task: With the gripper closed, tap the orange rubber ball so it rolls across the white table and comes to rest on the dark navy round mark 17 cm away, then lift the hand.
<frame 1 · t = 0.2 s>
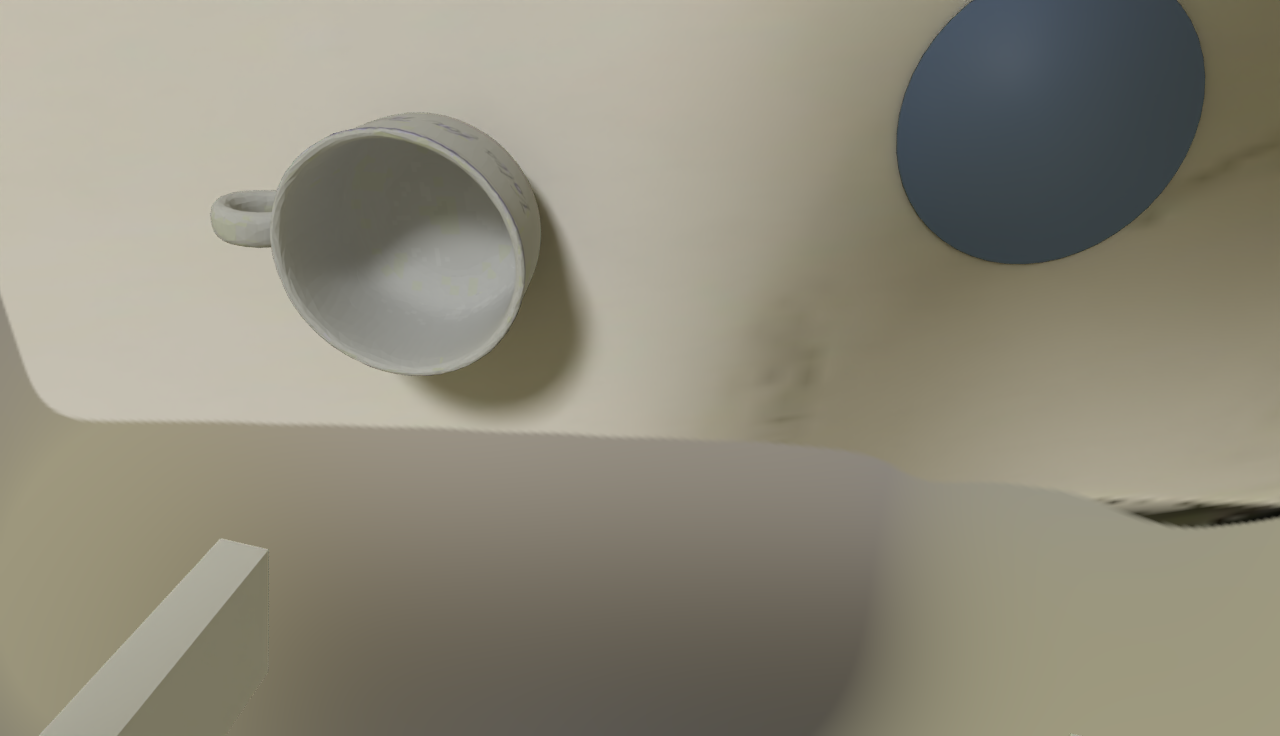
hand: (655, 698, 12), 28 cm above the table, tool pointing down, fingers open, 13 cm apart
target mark: (1044, 124, 34), on the table
teacup: (423, 204, 38), on the table
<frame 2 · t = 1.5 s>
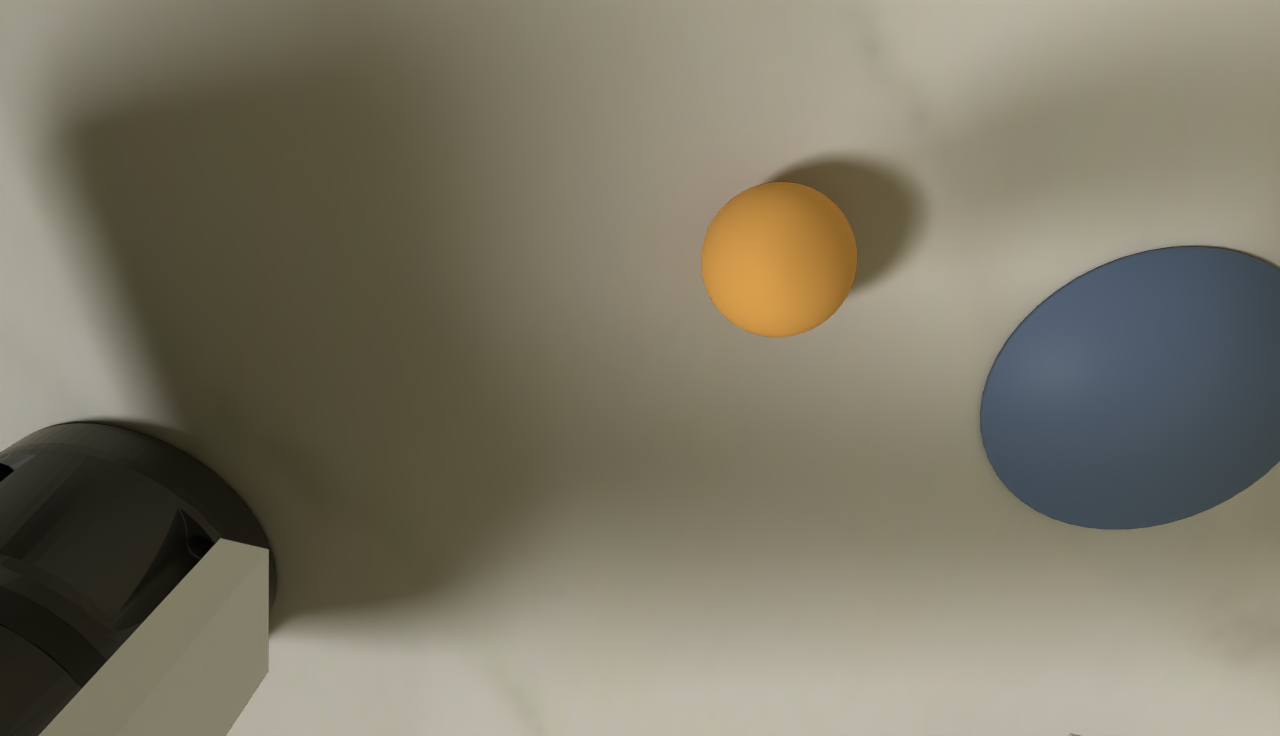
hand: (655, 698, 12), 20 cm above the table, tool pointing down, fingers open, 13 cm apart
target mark: (1145, 399, 31), on the table
ball: (777, 260, 27), on the table
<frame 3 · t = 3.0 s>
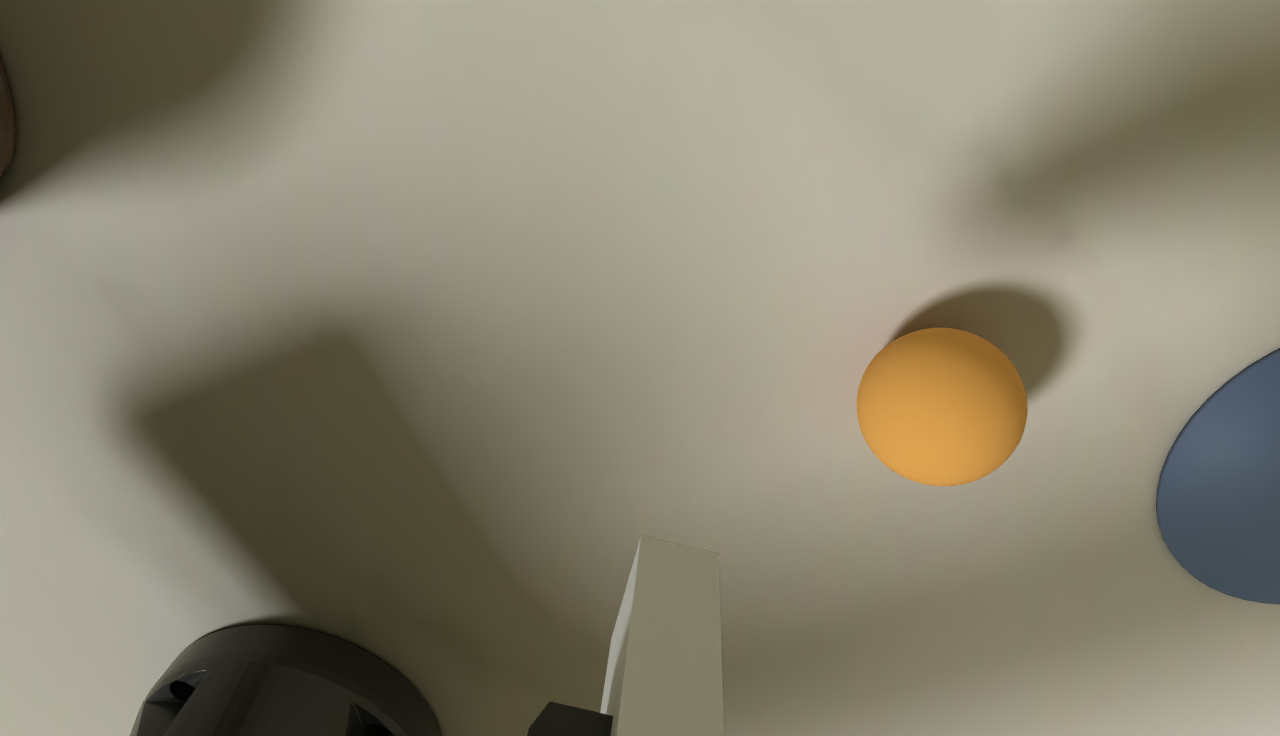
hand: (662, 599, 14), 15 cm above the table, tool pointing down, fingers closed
ball: (938, 406, 26), on the table
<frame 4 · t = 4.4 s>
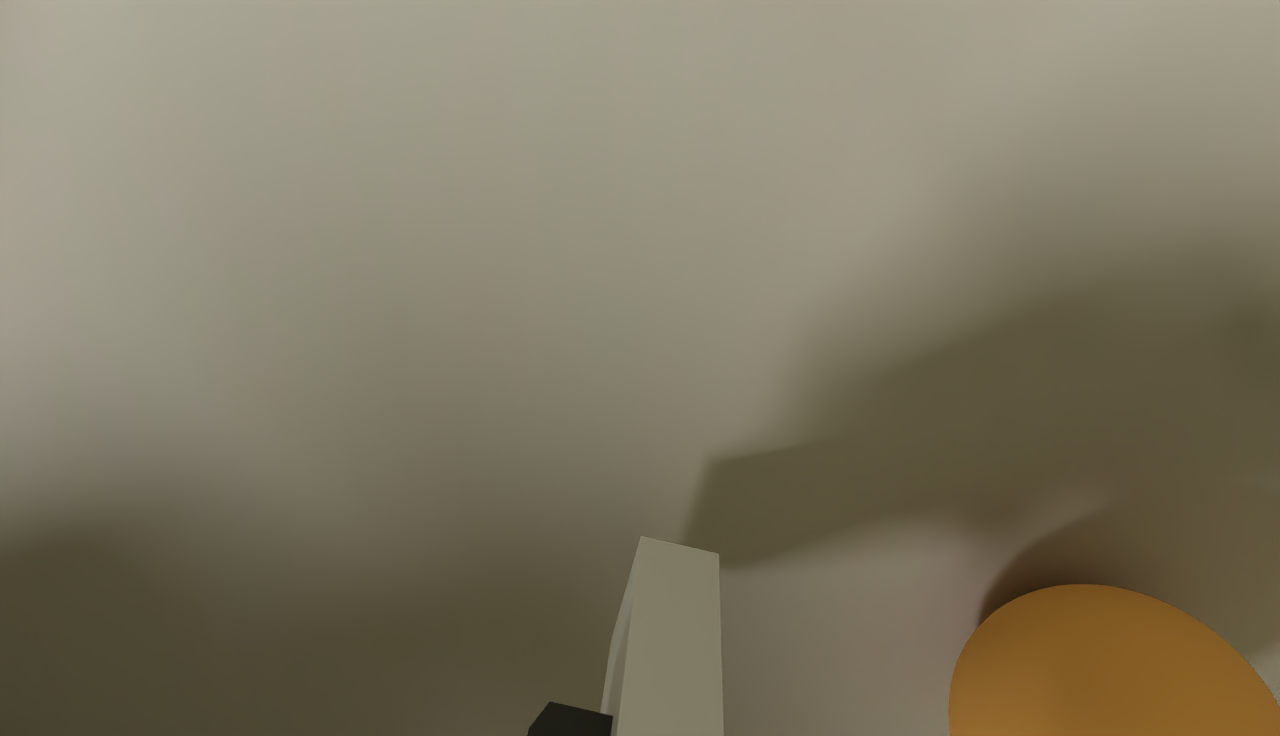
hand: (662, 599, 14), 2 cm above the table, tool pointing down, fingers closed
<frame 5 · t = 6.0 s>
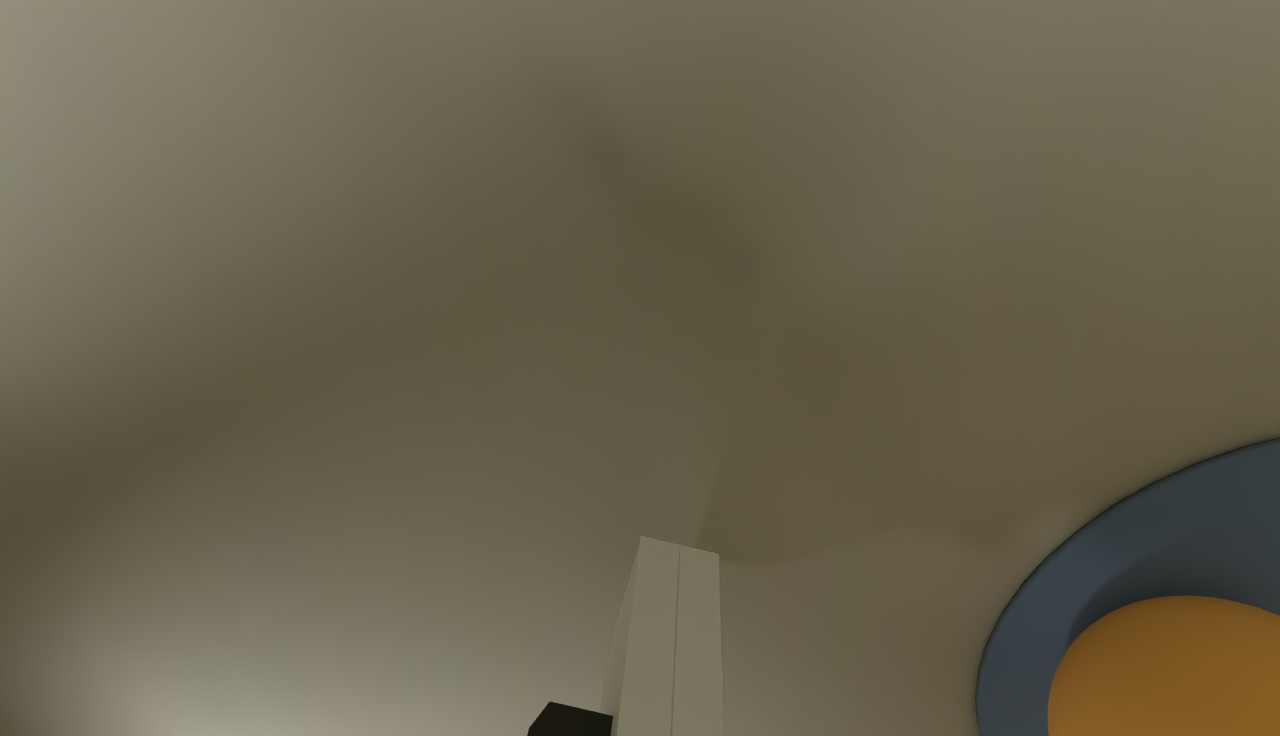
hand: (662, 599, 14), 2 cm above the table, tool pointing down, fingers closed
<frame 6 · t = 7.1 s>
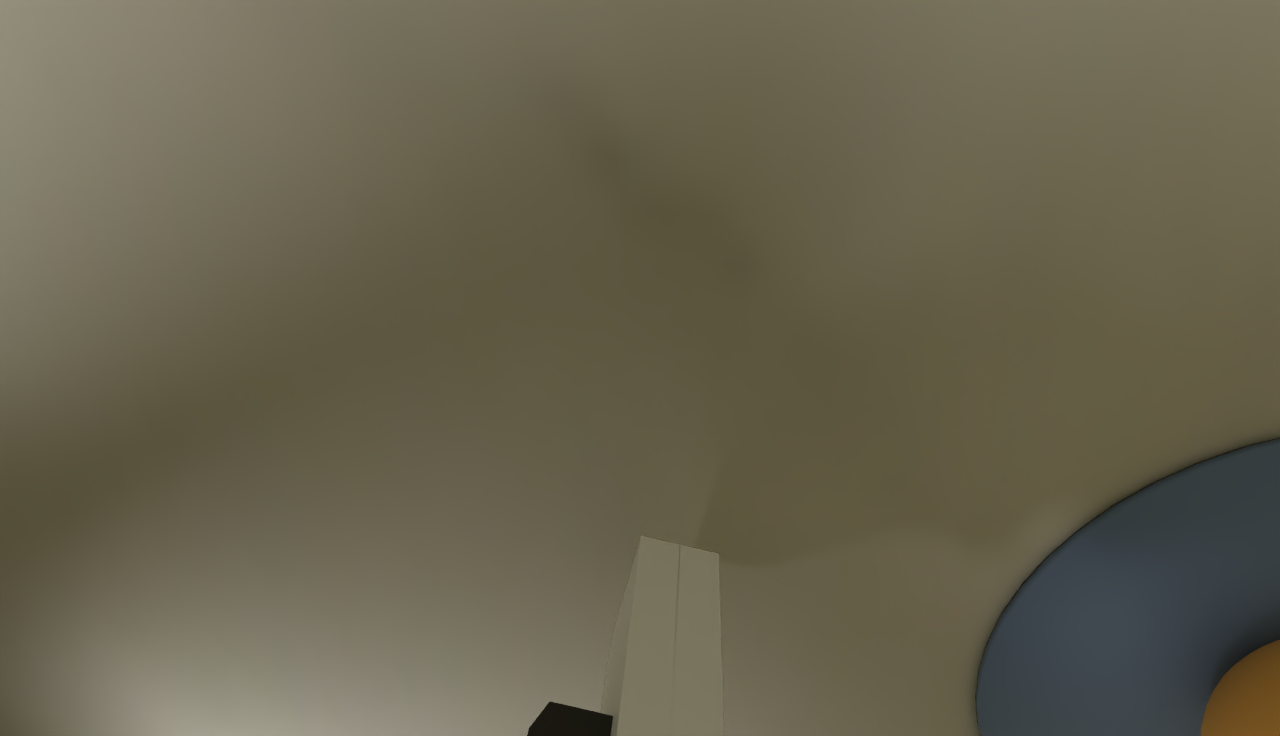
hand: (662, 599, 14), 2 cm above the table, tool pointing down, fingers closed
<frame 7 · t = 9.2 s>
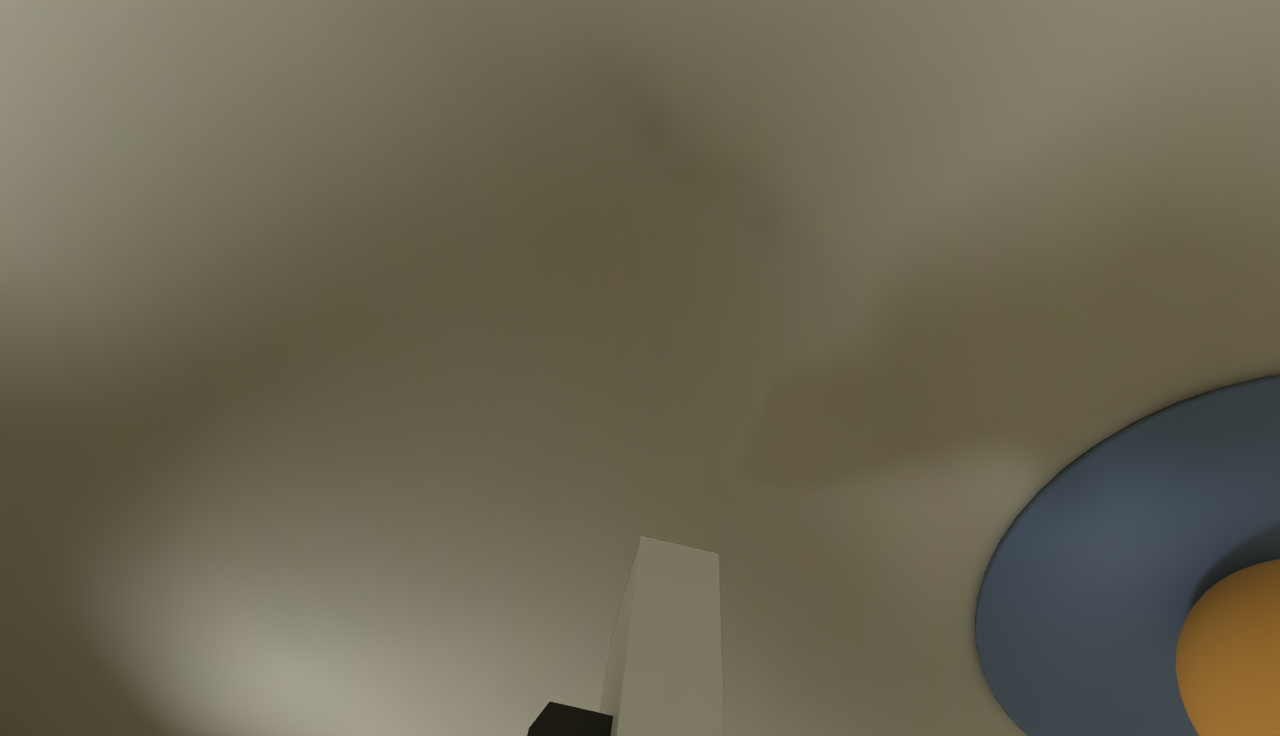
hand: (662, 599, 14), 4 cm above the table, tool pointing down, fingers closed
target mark: (1256, 608, 18), on the table
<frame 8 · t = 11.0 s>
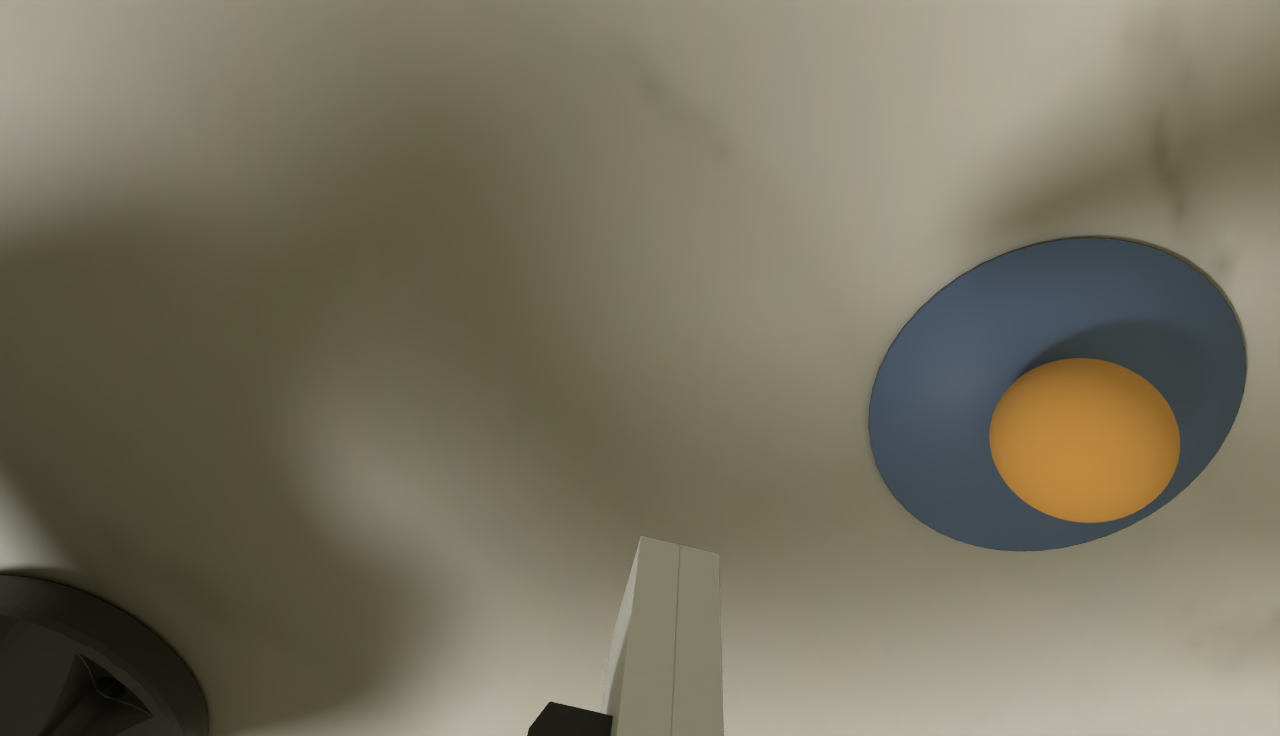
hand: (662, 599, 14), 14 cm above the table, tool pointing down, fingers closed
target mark: (1048, 408, 28), on the table
ball: (1079, 439, 25), on the table
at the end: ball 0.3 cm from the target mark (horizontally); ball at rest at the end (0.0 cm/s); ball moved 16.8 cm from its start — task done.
